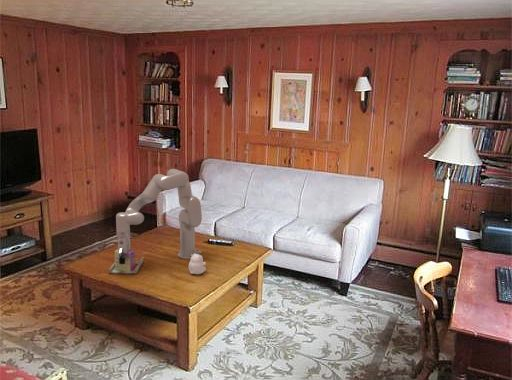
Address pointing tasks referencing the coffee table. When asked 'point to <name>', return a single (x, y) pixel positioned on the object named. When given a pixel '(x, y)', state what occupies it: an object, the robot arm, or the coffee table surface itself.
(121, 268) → the box
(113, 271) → the rack
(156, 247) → the coffee table surface
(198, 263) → the figurine
